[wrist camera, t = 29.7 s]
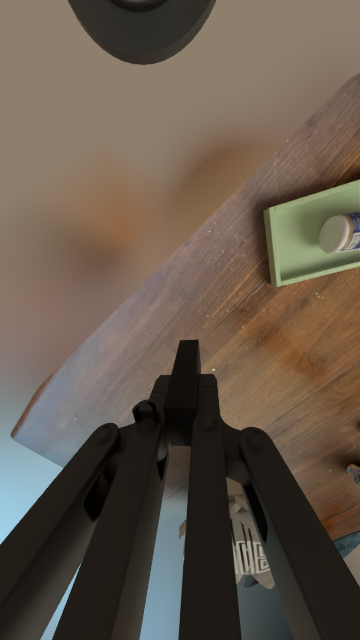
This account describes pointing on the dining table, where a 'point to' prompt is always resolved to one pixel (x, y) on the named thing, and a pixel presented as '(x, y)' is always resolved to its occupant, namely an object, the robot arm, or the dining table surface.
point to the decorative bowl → (244, 539)
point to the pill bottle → (341, 233)
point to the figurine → (354, 471)
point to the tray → (308, 235)
